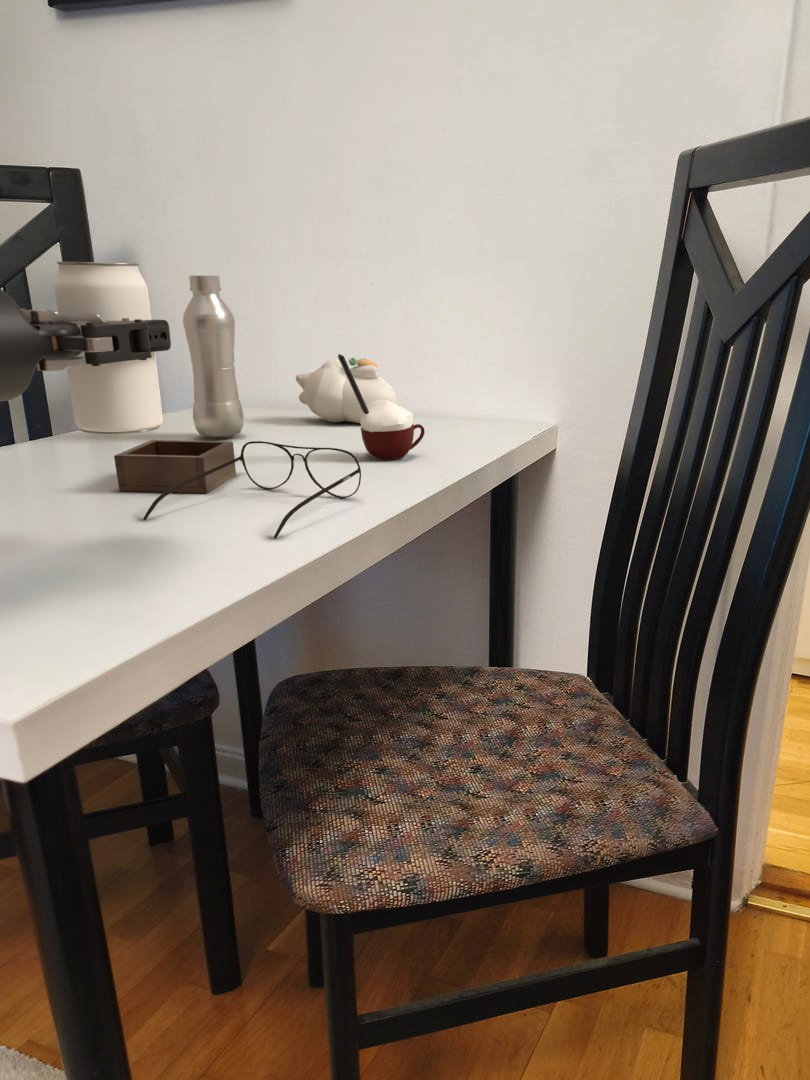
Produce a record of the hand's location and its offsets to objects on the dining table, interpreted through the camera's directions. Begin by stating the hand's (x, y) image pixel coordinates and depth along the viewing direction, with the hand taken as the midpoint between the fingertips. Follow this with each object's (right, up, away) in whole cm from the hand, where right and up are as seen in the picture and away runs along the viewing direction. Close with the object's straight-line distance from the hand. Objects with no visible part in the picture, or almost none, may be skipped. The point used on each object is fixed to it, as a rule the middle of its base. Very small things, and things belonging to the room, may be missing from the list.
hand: (130, 332), depth 69 cm
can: (-1, -7, +1) cm, 8 cm away
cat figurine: (+8, +8, +63) cm, 64 cm away
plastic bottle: (-7, +3, +50) cm, 50 cm away
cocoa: (+16, -2, +38) cm, 41 cm away
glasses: (+7, -12, +14) cm, 20 cm away
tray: (-4, -7, +24) cm, 26 cm away
